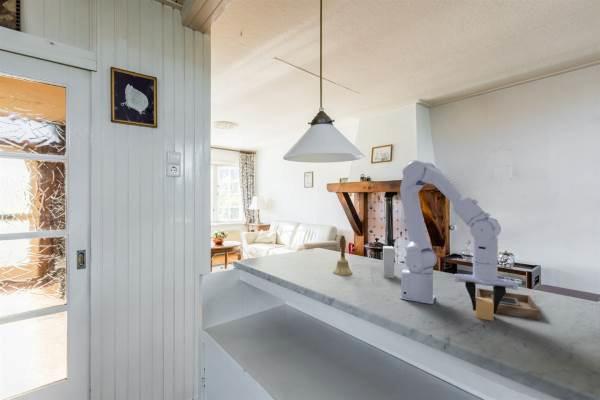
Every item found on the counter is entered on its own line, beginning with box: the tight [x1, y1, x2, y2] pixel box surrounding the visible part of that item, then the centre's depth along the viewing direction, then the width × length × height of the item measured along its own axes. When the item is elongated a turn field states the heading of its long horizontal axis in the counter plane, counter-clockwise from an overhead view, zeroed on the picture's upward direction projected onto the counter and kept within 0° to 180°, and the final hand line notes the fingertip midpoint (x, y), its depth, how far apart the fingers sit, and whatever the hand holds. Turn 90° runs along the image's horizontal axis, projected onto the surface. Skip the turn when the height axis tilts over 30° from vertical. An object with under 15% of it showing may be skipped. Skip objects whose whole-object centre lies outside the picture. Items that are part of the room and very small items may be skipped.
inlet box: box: [476, 287, 541, 321], centre depth 88 cm, size 14×14×2 cm
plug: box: [474, 296, 495, 321], centre depth 80 cm, size 4×4×4 cm
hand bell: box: [332, 235, 353, 276], centre depth 125 cm, size 8×8×16 cm
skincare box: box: [381, 245, 396, 279], centre depth 120 cm, size 6×4×12 cm
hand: (484, 311), depth 80 cm, fingers closed on plug, 4 cm apart
